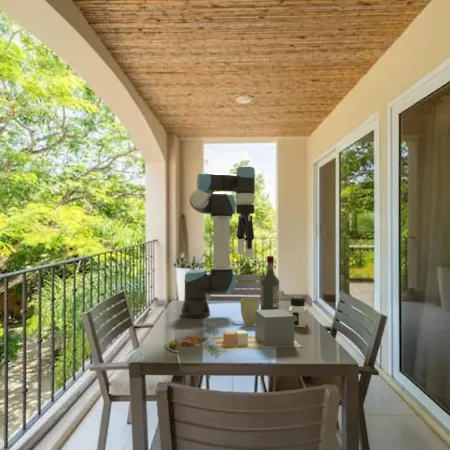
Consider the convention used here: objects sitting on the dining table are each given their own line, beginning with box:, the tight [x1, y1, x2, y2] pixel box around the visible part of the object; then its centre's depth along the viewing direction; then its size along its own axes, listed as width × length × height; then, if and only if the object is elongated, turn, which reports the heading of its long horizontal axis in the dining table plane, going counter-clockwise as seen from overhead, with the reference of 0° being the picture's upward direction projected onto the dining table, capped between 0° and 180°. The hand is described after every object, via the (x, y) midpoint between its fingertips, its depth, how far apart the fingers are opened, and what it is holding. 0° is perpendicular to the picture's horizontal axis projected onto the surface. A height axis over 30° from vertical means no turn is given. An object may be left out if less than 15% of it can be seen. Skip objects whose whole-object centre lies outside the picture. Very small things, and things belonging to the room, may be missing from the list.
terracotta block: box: [222, 330, 236, 345], centre depth 147 cm, size 4×4×4 cm
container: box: [288, 296, 307, 328], centre depth 181 cm, size 8×8×13 cm
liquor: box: [260, 255, 280, 310], centre depth 210 cm, size 9×9×30 cm
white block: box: [234, 330, 249, 344], centre depth 148 cm, size 4×4×4 cm
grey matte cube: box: [254, 308, 295, 347], centre depth 150 cm, size 12×12×11 cm
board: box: [212, 335, 303, 352], centre depth 149 cm, size 16×32×2 cm, turn 101°
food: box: [165, 335, 206, 354], centre depth 147 cm, size 18×18×3 cm
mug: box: [239, 297, 260, 327], centre depth 180 cm, size 11×10×12 cm
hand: (244, 255), depth 156 cm, fingers open, 13 cm apart
